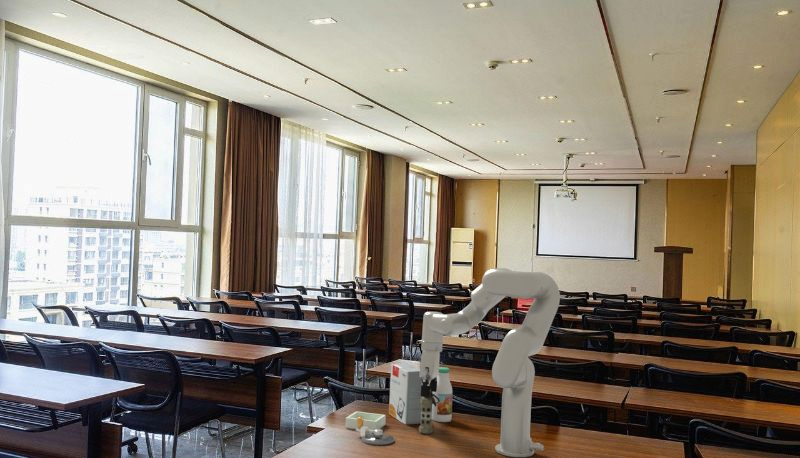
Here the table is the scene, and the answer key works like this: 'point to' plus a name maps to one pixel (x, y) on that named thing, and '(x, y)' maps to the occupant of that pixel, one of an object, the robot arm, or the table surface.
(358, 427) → the crank lever
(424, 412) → the grenade model
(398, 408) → the hard drive box
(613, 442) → the table surface
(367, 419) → the tray
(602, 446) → the table surface
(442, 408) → the milk bottle
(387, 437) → the crank base
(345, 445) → the table surface
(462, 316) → the robot arm
